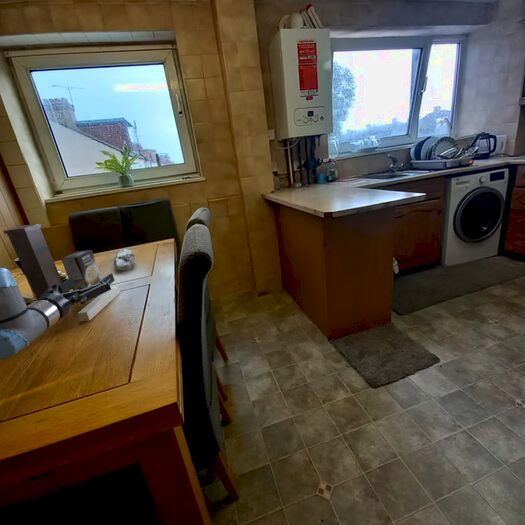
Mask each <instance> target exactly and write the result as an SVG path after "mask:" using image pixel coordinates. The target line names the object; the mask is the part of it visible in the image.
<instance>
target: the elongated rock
mask: <svg viewBox="0 0 525 525" xmlns="http://www.w3.org/2000/svg"><path fill="white" fill-rule="evenodd" d="M113 265H114V267H115V268H116V270H117V271H126V270H129V269H132V267H133V266H134V265H135V254H134V252H133V250H131V248H124V249H121V250H119V251H117V253H116V255H115V258H114V259H113Z"/></svg>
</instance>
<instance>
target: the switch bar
mask: <svg viewBox="0 0 525 525" xmlns="http://www.w3.org/2000/svg"><path fill="white" fill-rule="evenodd" d="M110 287H111V290H109V291H107V292H105V293H103V294H101V295H99V296H97V297H95V298H93V299H92V301H91V302H89V303H88V304H87V305H86V306H84V307H83V308H82V309H81V310H80V311H79V312H77V316H78V318H79V321H80V322H89V321H91V320H92V319H93V318H94V317H95V316H96V315H98V314H99V313H100V312H102V310H103V309H104V308H105V307H106V306H107V305H108V304H109V303H111V302H112V301H113V299H115V298H116V297H117V296H118V295H119V294H120V293H121V289H120V287H119V284H115V285H110Z"/></svg>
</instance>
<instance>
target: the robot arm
mask: <svg viewBox="0 0 525 525" xmlns="http://www.w3.org/2000/svg"><path fill="white" fill-rule="evenodd" d="M101 279H102V280H101V281H99V282H100V283H98V284H95V285H92V286H90V287H87V288H84V289H82V290H79V289H77V290H74V291H73V290H71V289H72V287H73V286H75V285H76V283H75V281H74V278H73V277H72V278H70V279H69V278H68V279H66V280H64V281H62V284H60V285H58V287H57V285H56V284H55V285H52V288H53V289H50V288H47V289H46V290H45V291H44V293H43V294H42V296H41V297H40V298H39V299H38V300H37V299H36V300H35V301H33V302H32V303H31V304H28V305H27V304H26V301H25V299H24V297H23V295H22V292H21V289H20V288H19V284H18V283H17V281H16V279H15V278H14V276H13V274H12V273H11V271H10V270H9V269H8V268H6V267H0V360H6V359H10V358H12V357H14V356H15V355H17V354H18V353H20V352H21V351H23V350H24V349H26V348H27V347H29V346H30V344H31V343H33V342H34V341H35V340H36V339H38V338H39V337H40V336H41V335H42V334H44V333H47V331H48V330H49V329H50V328H51V327H53V326H54V325H55V324H57V323H58V322H59V321H61V320H62V319H63V318H64V317H65V316H67V315H68V314H69V312H70V310H71V307H73V306H74V305H75V304H77V303H80V305H85V304H87V303H88V302H89V301H91V300H94V299H95V298H97V297H98V296H99V295H101V294H103V293H105V292H107V291H109V290H111V287H110V286H111V285H112V284H113V283H114V282H115V277H114V275H113V273H108V274H107V275H105V277H103V278H101ZM69 290H71V291H69ZM59 292H60V293H63V294H60V293H59ZM64 292H66V293H64ZM75 293H78V295H79V296H78V297H77V296H76V294H75Z"/></svg>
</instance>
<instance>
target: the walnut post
mask: <svg viewBox="0 0 525 525" xmlns="http://www.w3.org/2000/svg"><path fill="white" fill-rule="evenodd" d="M41 227H43V226H42V223H32V224H25V225H20V226H15V227H12V228H9V229H4V230H2V231H3V234H4V235H7V237H8V239H9V241H10V243H11V245H12V248H13V250H14V252H15V254H16V257H17V260H18V261H19V263H20V266H21V267H22V270H23V272H24V275H25V277H26V278H27V281H28V283H29V285H30V288H31V290H32V292H33V294H34V296H35V298H36V300H38V299H39V298H40V297H41V296H42V294H43V293H44V291H45V290H46V289H47V288H50V289H53V288H52V285H55V284H56V285H57V287H58V285H60V284H62V283H63V280H62V278H61V275H60V274H59V270H58V269H57V266H56V263H55V260H54V258H53V256H52V253H51V251H50V248H49V246H48V244H47V241H46V239H45V236H44V234H43V232H42V229H41ZM66 292H67V291H66ZM66 292H64V293H66ZM59 293H60V292H59ZM60 294H63V293H60Z"/></svg>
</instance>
